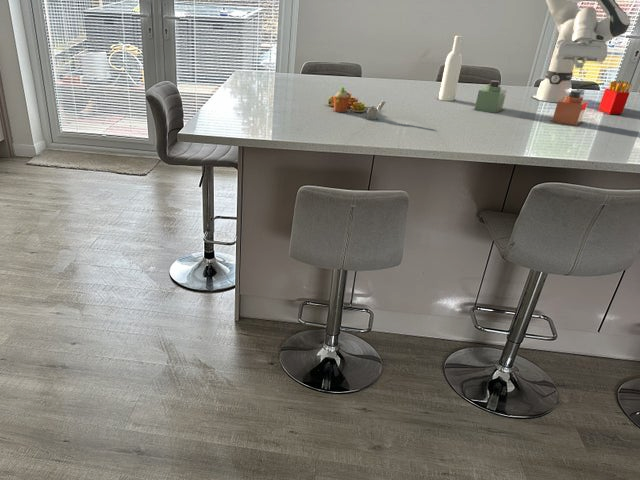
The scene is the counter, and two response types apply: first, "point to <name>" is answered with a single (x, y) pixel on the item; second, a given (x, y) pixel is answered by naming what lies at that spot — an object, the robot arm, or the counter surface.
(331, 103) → the toy tea set
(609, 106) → the french fries container
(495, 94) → the sage bottle
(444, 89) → the bottle
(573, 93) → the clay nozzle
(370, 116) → the grey mortar and pestle
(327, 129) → the counter surface
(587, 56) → the robot arm
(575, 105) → the clay bottle
